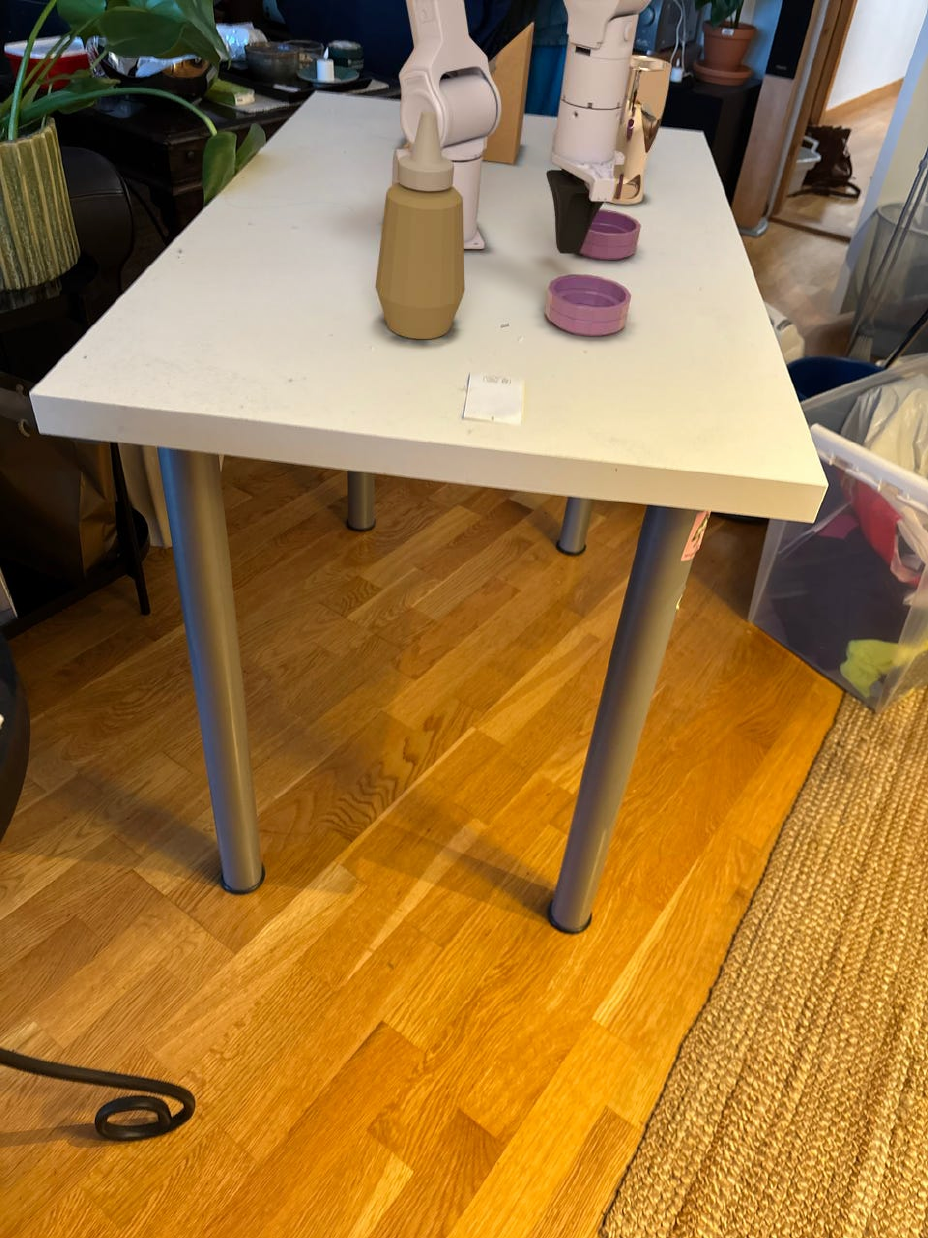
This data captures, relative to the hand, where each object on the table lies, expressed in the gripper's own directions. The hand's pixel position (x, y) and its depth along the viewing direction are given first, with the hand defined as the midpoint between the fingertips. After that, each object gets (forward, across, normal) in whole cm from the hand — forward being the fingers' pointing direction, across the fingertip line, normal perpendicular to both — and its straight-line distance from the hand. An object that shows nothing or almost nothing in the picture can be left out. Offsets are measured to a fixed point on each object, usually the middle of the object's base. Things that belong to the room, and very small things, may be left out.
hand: (567, 250), depth 92 cm
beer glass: (+4, +27, -14) cm, 31 cm away
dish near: (+3, -8, 0) cm, 9 cm away
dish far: (+3, +10, -7) cm, 12 cm away
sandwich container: (+4, +45, +2) cm, 45 cm away
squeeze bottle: (+4, -9, +16) cm, 19 cm away
